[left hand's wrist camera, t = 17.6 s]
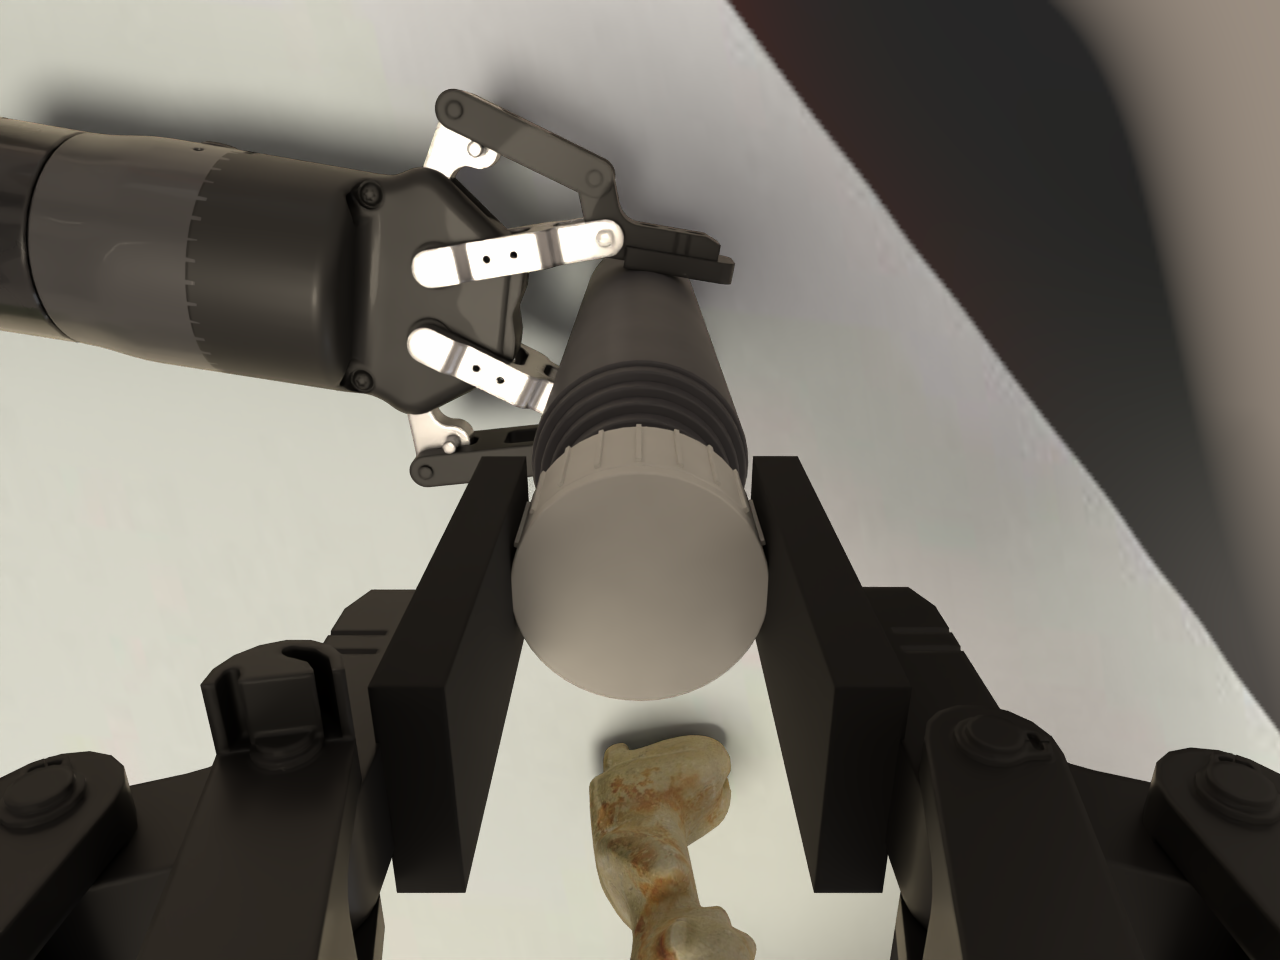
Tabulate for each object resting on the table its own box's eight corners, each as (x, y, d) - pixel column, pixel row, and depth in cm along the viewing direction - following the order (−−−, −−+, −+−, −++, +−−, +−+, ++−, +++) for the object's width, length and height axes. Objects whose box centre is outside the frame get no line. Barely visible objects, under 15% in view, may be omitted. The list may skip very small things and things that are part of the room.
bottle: (572, 263, 35) (451, 486, 13) (676, 230, 35) (744, 402, 12) (605, 364, 37) (551, 723, 14) (705, 334, 37) (812, 657, 14)
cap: (802, 530, 15) (827, 591, 13) (641, 668, 16) (641, 746, 14) (638, 373, 14) (637, 413, 12) (477, 532, 15) (452, 595, 13)
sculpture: (728, 803, 46) (767, 1092, 32) (596, 808, 46) (577, 1097, 32) (728, 715, 44) (769, 983, 30) (589, 720, 44) (565, 990, 30)
